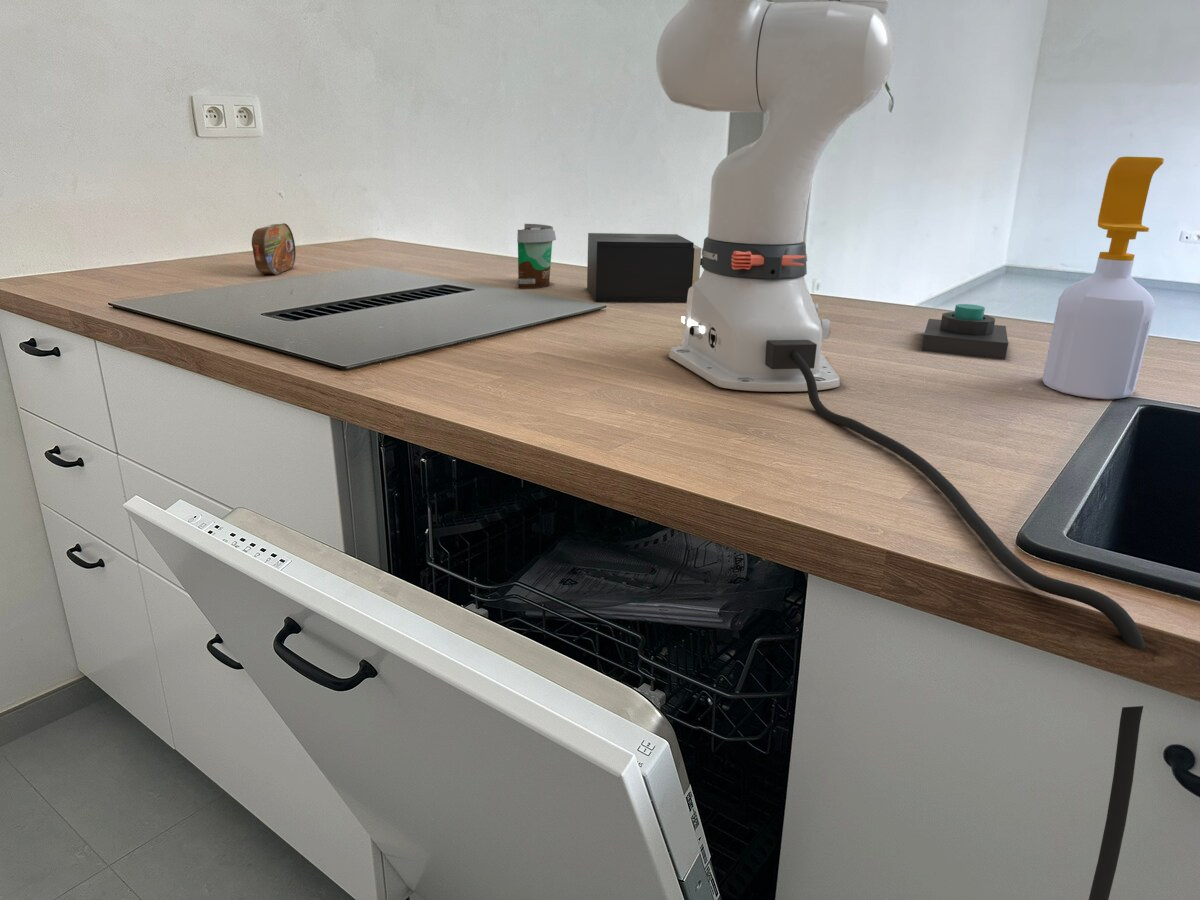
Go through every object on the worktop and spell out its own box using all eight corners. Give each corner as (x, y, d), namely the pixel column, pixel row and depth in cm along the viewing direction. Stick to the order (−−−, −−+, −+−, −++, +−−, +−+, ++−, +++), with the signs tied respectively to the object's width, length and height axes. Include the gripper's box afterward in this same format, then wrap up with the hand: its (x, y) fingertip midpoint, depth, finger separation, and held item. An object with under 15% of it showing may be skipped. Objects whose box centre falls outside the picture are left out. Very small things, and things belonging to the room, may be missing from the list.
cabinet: (674, 289, 152) (677, 234, 149) (690, 302, 141) (693, 242, 137) (586, 289, 150) (588, 232, 147) (595, 302, 139) (597, 241, 135)
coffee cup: (553, 290, 148) (553, 231, 144) (517, 289, 148) (517, 230, 145) (557, 279, 159) (558, 224, 156) (524, 278, 160) (524, 223, 156)
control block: (1005, 360, 108) (1011, 328, 107) (921, 351, 112) (926, 320, 110) (1002, 341, 118) (1008, 312, 117) (926, 333, 122) (930, 305, 121)
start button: (982, 323, 112) (985, 309, 111) (953, 320, 113) (955, 307, 112) (982, 318, 115) (984, 305, 114) (953, 315, 116) (955, 303, 115)
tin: (269, 277, 153) (264, 229, 150) (251, 277, 153) (246, 228, 150) (298, 266, 167) (294, 221, 164) (282, 265, 167) (278, 220, 164)
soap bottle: (1046, 394, 93) (1097, 155, 85) (1037, 375, 101) (1083, 155, 93) (1140, 404, 90) (1202, 158, 82) (1123, 383, 98) (1178, 157, 90)
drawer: (706, 285, 152) (709, 240, 150) (723, 296, 142) (726, 248, 139) (602, 284, 150) (603, 238, 147) (611, 295, 139) (612, 246, 137)
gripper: (794, 14, 128) (785, 113, 133) (848, -6, 109) (835, 111, 114) (835, 16, 129) (824, 115, 134) (895, -4, 110) (880, 112, 115)
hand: (829, 113), depth 124 cm, fingers closed
